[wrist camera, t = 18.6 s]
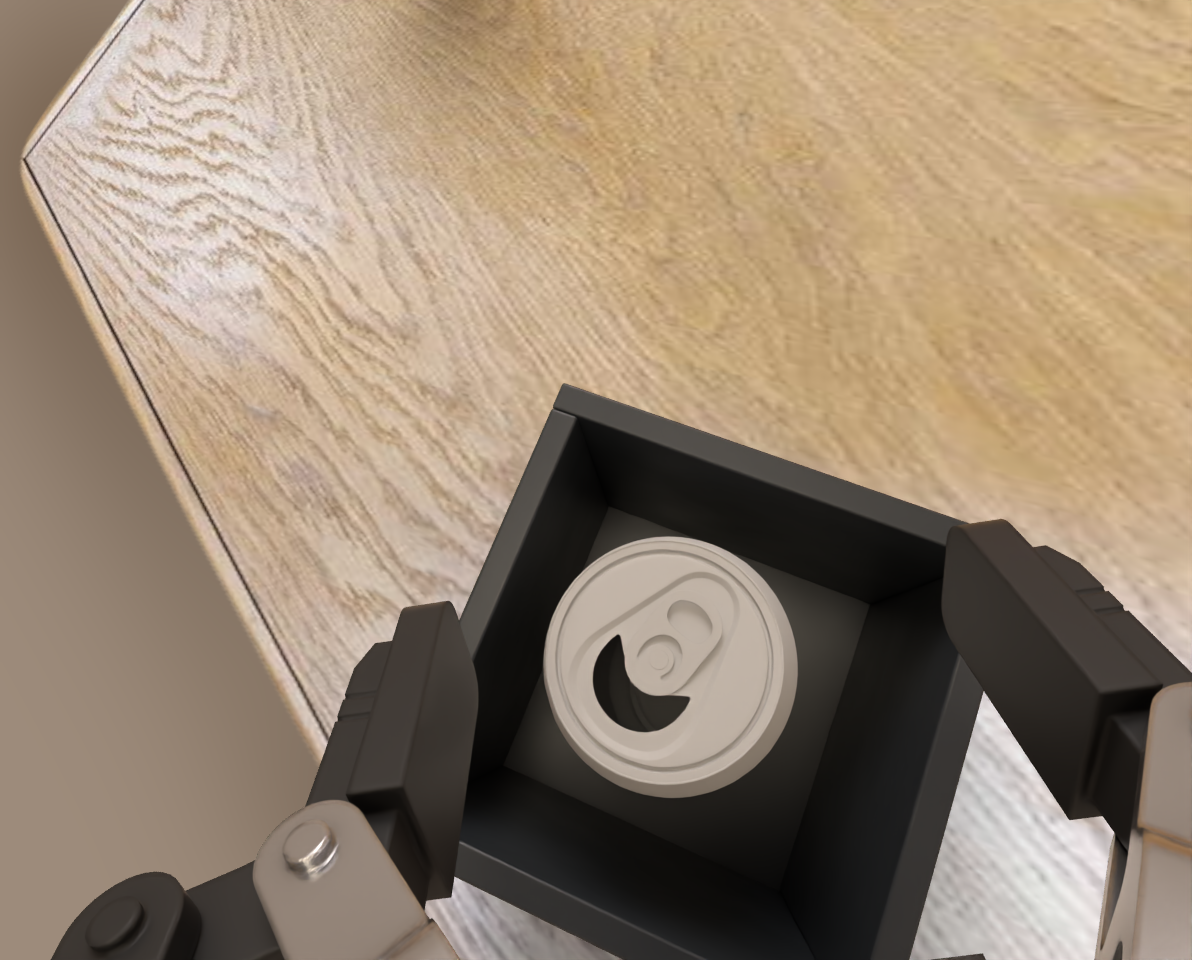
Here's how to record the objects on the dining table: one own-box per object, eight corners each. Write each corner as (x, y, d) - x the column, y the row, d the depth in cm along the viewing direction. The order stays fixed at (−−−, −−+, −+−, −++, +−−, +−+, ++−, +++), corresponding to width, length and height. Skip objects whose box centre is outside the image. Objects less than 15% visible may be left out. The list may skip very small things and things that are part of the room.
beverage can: (579, 688, 29) (475, 670, 18) (683, 565, 30) (646, 473, 19) (705, 809, 27) (676, 872, 16) (815, 672, 28) (860, 641, 17)
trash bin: (788, 914, 27) (875, 1086, 16) (482, 773, 30) (364, 833, 18) (888, 595, 30) (1026, 542, 18) (600, 488, 32) (562, 381, 21)
